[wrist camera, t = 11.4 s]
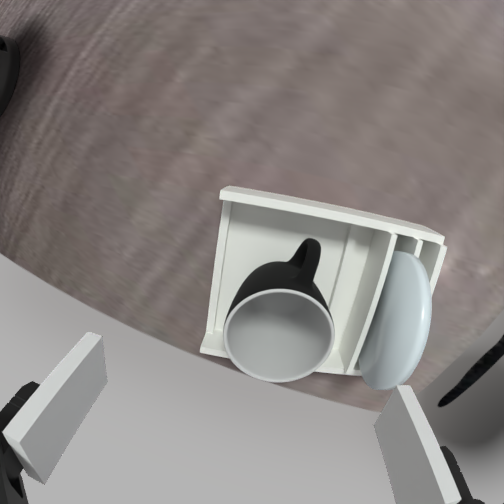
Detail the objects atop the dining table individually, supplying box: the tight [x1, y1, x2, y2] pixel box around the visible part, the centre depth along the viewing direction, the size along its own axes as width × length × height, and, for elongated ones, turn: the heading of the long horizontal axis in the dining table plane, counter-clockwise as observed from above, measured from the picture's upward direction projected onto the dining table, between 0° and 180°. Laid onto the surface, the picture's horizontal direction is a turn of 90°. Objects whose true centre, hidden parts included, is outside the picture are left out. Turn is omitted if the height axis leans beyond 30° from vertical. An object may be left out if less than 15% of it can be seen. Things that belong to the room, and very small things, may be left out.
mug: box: [223, 238, 335, 382], centre depth 29 cm, size 12×9×10 cm
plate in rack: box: [358, 251, 432, 390], centre depth 27 cm, size 1×13×13 cm, turn 171°
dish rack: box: [200, 186, 447, 376], centre depth 32 cm, size 22×17×6 cm
